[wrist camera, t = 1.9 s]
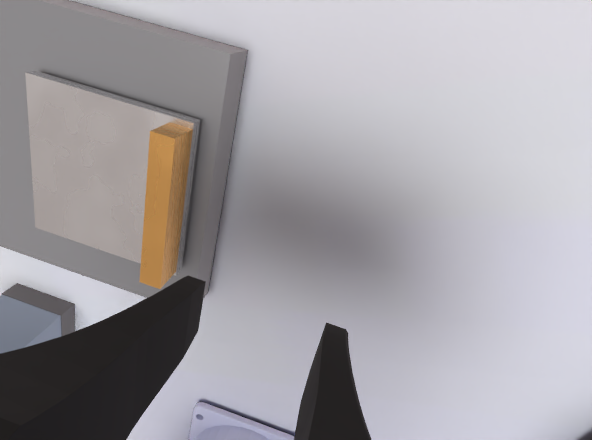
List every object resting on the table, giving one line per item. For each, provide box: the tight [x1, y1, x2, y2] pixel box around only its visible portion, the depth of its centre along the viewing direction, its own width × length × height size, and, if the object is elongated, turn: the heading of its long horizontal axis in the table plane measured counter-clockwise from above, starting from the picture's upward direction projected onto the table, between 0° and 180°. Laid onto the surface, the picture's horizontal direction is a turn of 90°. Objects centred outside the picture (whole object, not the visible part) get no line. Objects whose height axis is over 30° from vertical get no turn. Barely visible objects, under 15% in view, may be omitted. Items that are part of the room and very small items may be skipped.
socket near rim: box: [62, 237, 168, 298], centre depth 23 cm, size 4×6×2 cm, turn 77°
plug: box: [0, 283, 75, 353], centre depth 26 cm, size 4×4×6 cm
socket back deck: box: [0, 0, 87, 268], centre depth 22 cm, size 13×7×2 cm, turn 167°
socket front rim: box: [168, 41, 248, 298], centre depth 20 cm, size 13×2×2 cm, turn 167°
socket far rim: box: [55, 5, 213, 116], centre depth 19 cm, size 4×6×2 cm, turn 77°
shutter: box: [25, 71, 200, 289], centre depth 19 cm, size 8×8×2 cm
